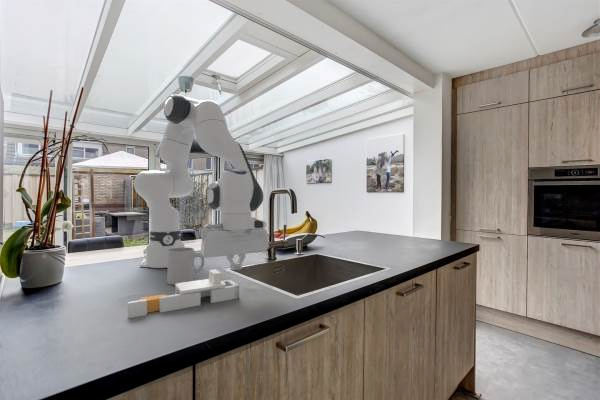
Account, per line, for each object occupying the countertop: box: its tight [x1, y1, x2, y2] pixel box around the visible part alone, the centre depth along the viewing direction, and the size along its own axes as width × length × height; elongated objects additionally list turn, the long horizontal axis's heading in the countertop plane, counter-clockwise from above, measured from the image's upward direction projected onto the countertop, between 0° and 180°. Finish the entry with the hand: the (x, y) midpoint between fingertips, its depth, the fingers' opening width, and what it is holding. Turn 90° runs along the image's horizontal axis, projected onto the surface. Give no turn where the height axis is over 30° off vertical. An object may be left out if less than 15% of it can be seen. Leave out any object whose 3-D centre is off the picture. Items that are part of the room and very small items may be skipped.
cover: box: [174, 268, 226, 294], centre depth 86 cm, size 8×12×4 cm, turn 123°
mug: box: [166, 247, 205, 286], centre depth 105 cm, size 12×8×11 cm
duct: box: [127, 279, 240, 319], centre depth 84 cm, size 7×28×4 cm, turn 123°
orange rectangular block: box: [139, 293, 169, 313], centre depth 79 cm, size 3×9×3 cm, turn 123°
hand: (236, 269), depth 91 cm, fingers closed
